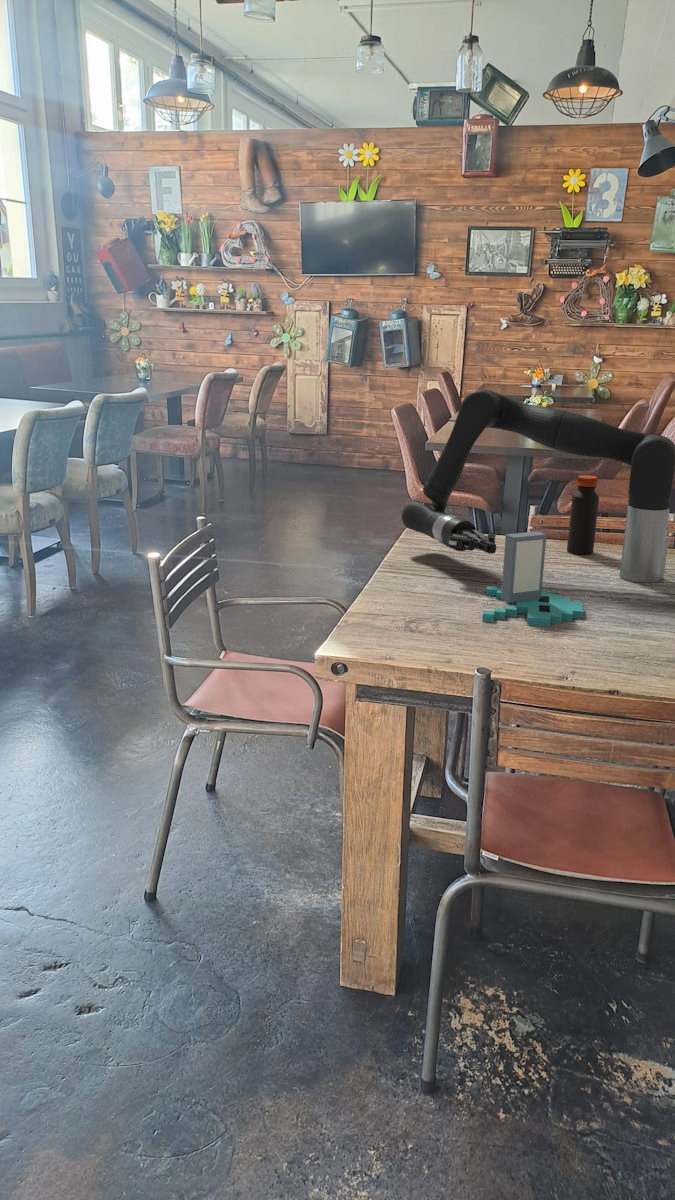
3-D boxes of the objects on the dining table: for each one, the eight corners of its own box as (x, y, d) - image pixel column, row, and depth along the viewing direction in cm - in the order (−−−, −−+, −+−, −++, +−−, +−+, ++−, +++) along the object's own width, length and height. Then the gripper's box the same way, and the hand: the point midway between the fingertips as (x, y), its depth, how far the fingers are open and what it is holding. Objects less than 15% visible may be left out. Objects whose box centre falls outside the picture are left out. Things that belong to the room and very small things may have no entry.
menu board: (532, 594, 184) (538, 531, 180) (541, 598, 182) (546, 534, 178) (501, 598, 182) (505, 534, 177) (509, 602, 179) (514, 537, 175)
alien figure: (481, 624, 172) (584, 632, 168) (482, 613, 172) (585, 622, 168) (486, 595, 191) (578, 602, 187) (487, 586, 190) (579, 592, 186)
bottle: (597, 554, 224) (606, 478, 218) (574, 555, 222) (581, 479, 216) (585, 548, 230) (593, 474, 224) (562, 549, 229) (569, 474, 222)
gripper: (430, 518, 203) (468, 535, 188) (478, 515, 208) (519, 530, 193) (429, 549, 205) (466, 567, 190) (476, 544, 210) (516, 562, 195)
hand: (493, 549), depth 192 cm, fingers closed
